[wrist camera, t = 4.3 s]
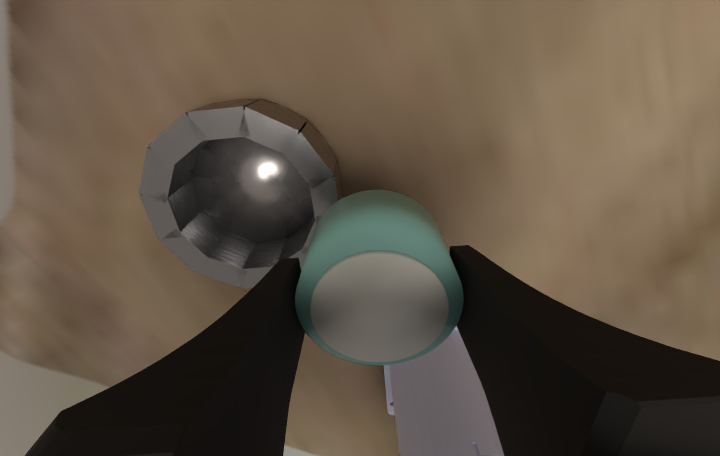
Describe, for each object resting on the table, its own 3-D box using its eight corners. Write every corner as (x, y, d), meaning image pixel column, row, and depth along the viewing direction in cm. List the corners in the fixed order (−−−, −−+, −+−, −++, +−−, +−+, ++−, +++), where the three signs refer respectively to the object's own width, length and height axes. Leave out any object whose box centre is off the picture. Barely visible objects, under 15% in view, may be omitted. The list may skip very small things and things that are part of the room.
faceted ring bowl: (349, 246, 21) (348, 279, 18) (205, 259, 21) (181, 293, 18) (329, 90, 17) (324, 98, 14) (151, 108, 17) (107, 119, 14)
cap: (441, 297, 14) (463, 367, 11) (322, 306, 14) (309, 377, 11) (441, 182, 12) (469, 230, 8) (299, 196, 12) (275, 247, 9)
